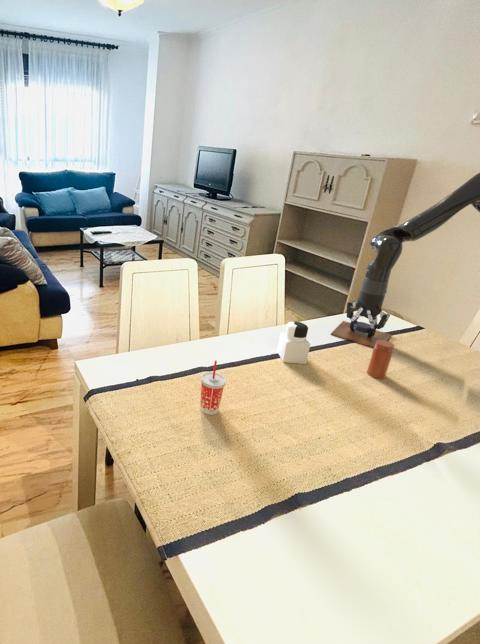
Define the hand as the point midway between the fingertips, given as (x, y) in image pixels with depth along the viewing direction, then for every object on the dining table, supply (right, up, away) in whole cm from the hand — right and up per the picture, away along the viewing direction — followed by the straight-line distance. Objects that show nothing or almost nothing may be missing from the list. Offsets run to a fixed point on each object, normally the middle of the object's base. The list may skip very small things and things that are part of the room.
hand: (361, 333), depth 141 cm
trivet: (0, -1, 0) cm, 1 cm away
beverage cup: (-66, -14, -43) cm, 80 cm away
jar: (-11, -10, -25) cm, 29 cm away
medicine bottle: (-34, -6, -17) cm, 38 cm away
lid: (0, +3, -1) cm, 3 cm away
